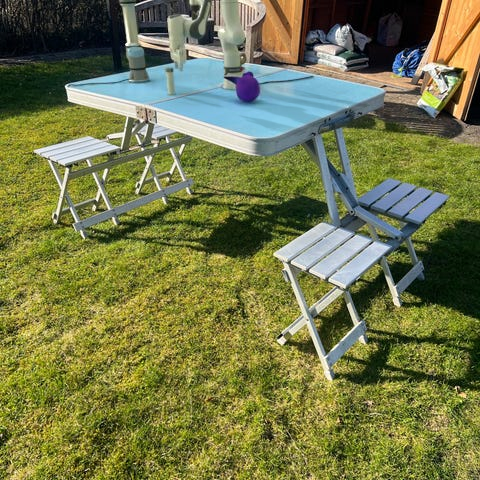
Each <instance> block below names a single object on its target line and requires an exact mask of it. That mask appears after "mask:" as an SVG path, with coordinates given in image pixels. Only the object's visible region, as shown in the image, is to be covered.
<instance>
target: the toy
mask: <svg viewBox="0 0 480 480" xmlns="http://www.w3.org/2000/svg"><path fill="white" fill-rule="evenodd" d="M224 78H225V79H227V80H229V81H230V82H232V83H234V84H236V90H235V92H236V96H237V98H238V100H240V101H241V102H244V103H253V102H255V101H256V100H257V99H258V97H259V96H260V94H261V84H259V83H260V82H259V80H258V79H257V78H255V76H254V73H253V72H252V71H246V72H244V73H243V76H242V77H233V76H224V75H223V79H224Z"/></svg>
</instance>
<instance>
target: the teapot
mask: <svg viewBox="0 0 480 480" xmlns="http://www.w3.org/2000/svg"><path fill="white" fill-rule="evenodd" d="M241 58H242V59H241ZM222 61H223V62H222V63H223V64H224V59H223V60H222ZM246 63H247V55H246V52H241V53H240V66H242V67H243V65H245V64H246Z"/></svg>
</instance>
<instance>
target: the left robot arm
mask: <svg viewBox="0 0 480 480" xmlns="http://www.w3.org/2000/svg"><path fill="white" fill-rule="evenodd" d="M188 1H189V11H191V20H196V19H197V18H198V15H199V12H200V9H201V6H200V5H199V4H198V3H197V2H196V1H195V0H188ZM119 5H120V6H121V8H122V13H123V22H124V29H125V35H126V36H125V38H126V43H125V56H126V59H127V60H128V66H129V76H128V78H126V79H123V80H119V81H113V82H89V83H88V82H87V83H80V84H71V83H70V84H68V85H67V88H69V87H70V86H71V87H72V86H73V87H74V86H75V87H80V86H85V85H86V86H87V85H107V84H109V85H110V84H118V83H122V82H125V81H126V82H127V81H128V82H129V83H133V84H141V83H148V82H150V76H149V74H148V71H147V67H146V59H145V50H144V48H143V47H142V43H140V42H139V41H140V40H139V34H138V25H137V17H136V8H135V6H136V5H137V0H119ZM72 131H73V133H75V129H73V130H72Z"/></svg>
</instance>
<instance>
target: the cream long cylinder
mask: <svg viewBox="0 0 480 480" xmlns="http://www.w3.org/2000/svg"><path fill="white" fill-rule="evenodd" d="M165 74H166V85H167V94H168V95H169V96H173V95H176V88H175V87H176V86H175V77H174V71H173V72H166V71H165Z"/></svg>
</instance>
